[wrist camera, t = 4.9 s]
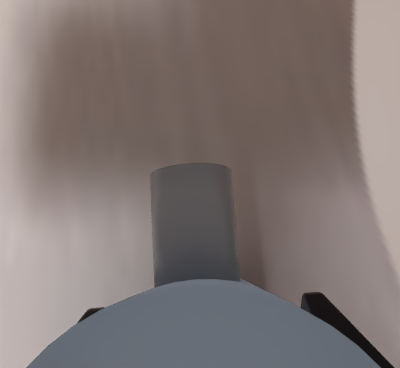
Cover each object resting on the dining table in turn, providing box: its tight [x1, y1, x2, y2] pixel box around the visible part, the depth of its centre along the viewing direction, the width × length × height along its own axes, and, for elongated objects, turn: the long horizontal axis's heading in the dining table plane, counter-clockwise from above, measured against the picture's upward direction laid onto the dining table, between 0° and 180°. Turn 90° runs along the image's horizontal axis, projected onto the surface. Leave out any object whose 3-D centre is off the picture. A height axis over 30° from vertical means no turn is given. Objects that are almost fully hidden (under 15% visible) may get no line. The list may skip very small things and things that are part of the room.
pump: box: [26, 163, 381, 368], centre depth 9 cm, size 6×4×12 cm
